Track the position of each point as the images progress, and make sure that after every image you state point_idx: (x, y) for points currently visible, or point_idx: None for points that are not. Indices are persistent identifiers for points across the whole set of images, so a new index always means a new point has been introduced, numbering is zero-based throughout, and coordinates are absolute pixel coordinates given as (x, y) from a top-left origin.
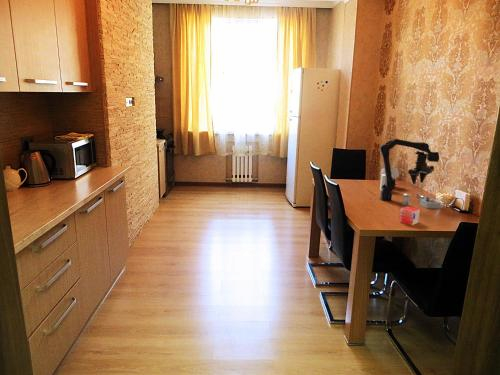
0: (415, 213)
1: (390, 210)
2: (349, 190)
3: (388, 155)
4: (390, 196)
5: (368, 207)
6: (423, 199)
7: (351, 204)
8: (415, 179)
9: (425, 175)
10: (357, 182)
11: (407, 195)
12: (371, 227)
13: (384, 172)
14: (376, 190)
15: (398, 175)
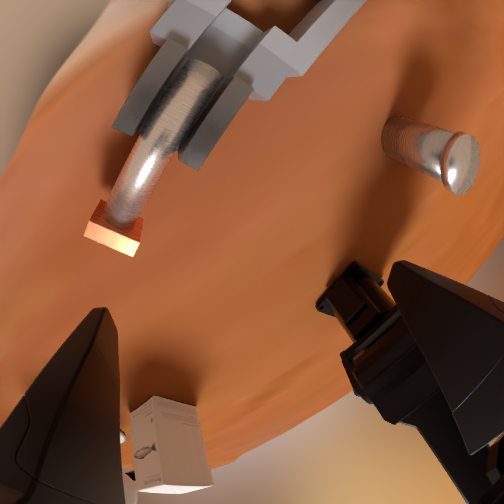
0: None
1: (485, 146)
2: (303, 414)
3: None
4: (361, 289)
5: (483, 222)
6: (278, 59)
7: (471, 272)
8: (490, 298)
9: (13, 496)
10: None
11: (477, 147)
12: None
13: (134, 497)
14: (202, 416)
15: None
